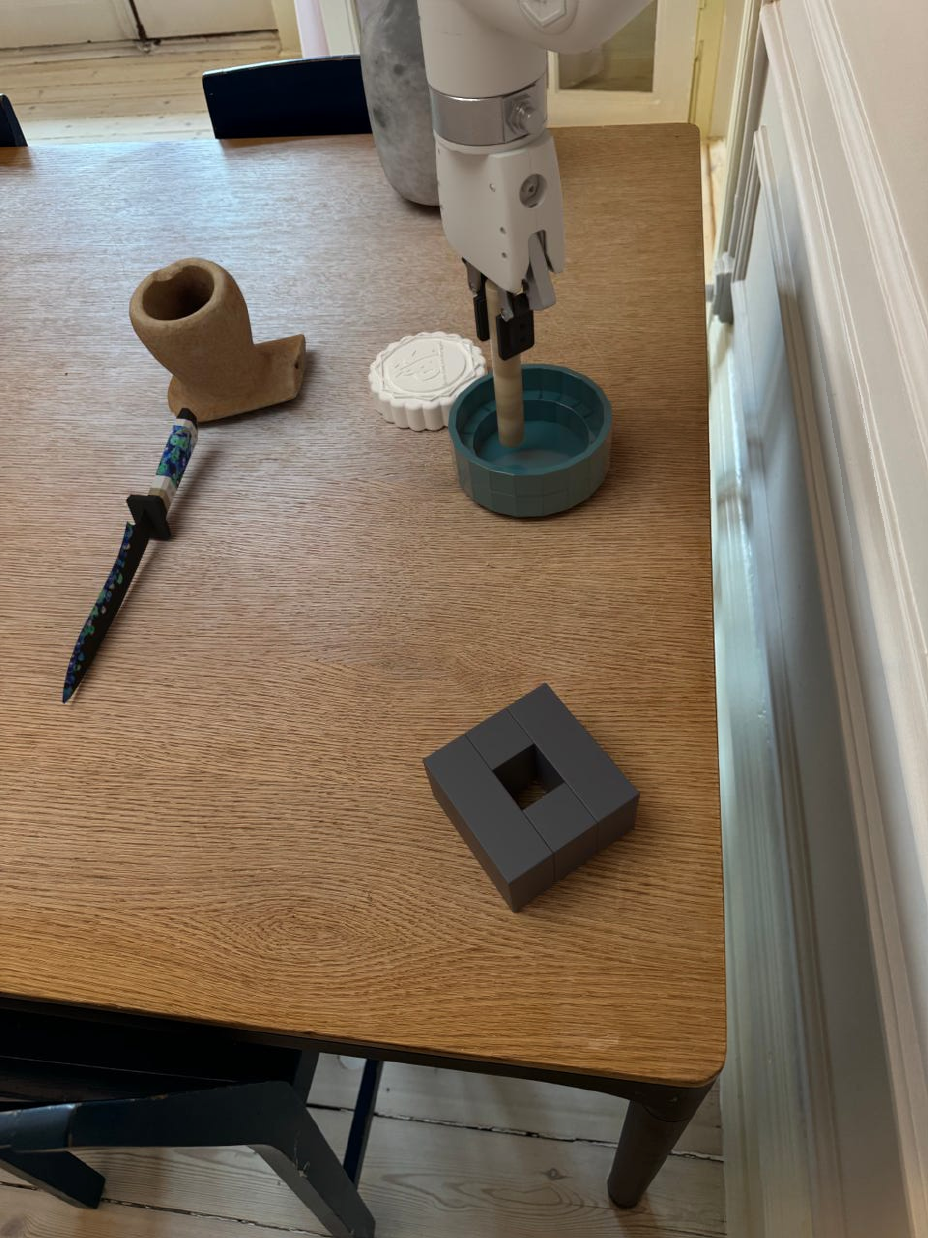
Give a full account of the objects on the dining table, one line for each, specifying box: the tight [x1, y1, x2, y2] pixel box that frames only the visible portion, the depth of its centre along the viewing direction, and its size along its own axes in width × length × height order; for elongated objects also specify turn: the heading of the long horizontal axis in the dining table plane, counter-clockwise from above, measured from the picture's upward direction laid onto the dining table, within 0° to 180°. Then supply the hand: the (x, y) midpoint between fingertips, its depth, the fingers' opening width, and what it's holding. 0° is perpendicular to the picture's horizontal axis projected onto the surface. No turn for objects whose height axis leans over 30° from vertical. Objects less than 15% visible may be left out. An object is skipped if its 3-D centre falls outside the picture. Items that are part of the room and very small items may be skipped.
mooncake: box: [367, 330, 489, 432], centre depth 86 cm, size 12×12×4 cm
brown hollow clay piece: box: [128, 257, 307, 423], centre depth 84 cm, size 15×12×15 cm
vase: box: [359, 0, 440, 207], centre depth 98 cm, size 16×16×30 cm
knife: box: [61, 408, 199, 704], centre depth 76 cm, size 30×3×4 cm, turn 165°
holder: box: [422, 682, 641, 914], centre depth 58 cm, size 10×10×6 cm
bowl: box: [447, 362, 613, 518], centre depth 78 cm, size 14×14×6 cm
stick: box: [485, 278, 525, 447], centre depth 72 cm, size 2×2×16 cm
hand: (505, 341), depth 69 cm, fingers closed on stick, 2 cm apart
